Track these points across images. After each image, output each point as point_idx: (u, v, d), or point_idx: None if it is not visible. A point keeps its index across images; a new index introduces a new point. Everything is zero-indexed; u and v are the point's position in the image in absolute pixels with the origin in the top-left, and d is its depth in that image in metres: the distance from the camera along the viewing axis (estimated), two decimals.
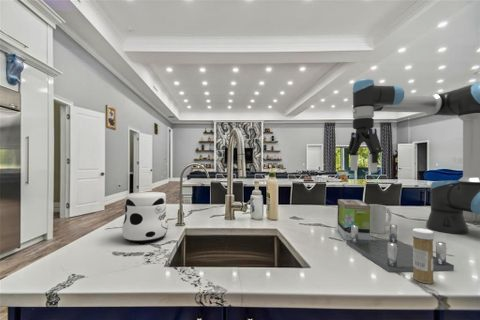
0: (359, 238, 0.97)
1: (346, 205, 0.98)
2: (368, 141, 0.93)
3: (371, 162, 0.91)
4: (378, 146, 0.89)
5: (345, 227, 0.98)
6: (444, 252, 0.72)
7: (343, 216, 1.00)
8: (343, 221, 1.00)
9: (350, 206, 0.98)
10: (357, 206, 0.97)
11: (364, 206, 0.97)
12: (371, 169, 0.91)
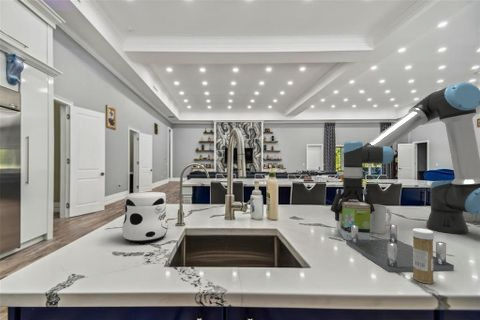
0: (359, 238, 0.97)
1: (346, 205, 0.98)
2: (341, 200, 1.05)
3: None
4: (333, 206, 1.03)
5: (345, 227, 0.98)
6: (444, 252, 0.72)
7: (343, 216, 1.00)
8: (343, 221, 1.00)
9: (350, 206, 0.98)
10: (357, 206, 0.97)
11: (364, 206, 0.97)
12: (337, 225, 1.05)
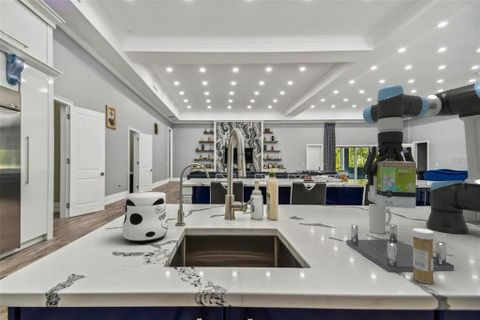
0: (402, 204, 0.76)
1: (384, 163, 0.78)
2: (375, 161, 0.84)
3: (370, 184, 0.84)
4: (366, 167, 0.83)
5: (383, 191, 0.77)
6: (444, 252, 0.72)
7: (380, 178, 0.79)
8: (380, 184, 0.79)
9: (390, 164, 0.77)
10: (399, 164, 0.77)
11: (408, 163, 0.76)
12: (370, 192, 0.84)
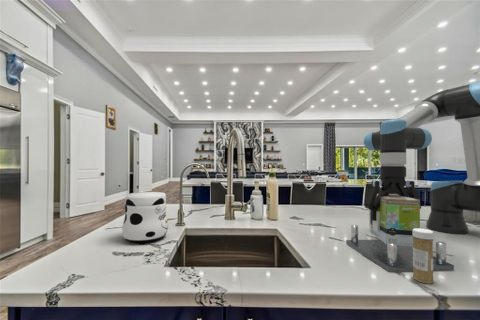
0: (406, 242, 0.75)
1: (388, 200, 0.76)
2: (378, 195, 0.83)
3: None
4: (368, 202, 0.82)
5: (387, 228, 0.76)
6: (444, 252, 0.72)
7: (383, 214, 0.78)
8: (383, 220, 0.78)
9: (393, 201, 0.76)
10: (403, 201, 0.75)
11: (412, 201, 0.75)
12: (373, 226, 0.83)
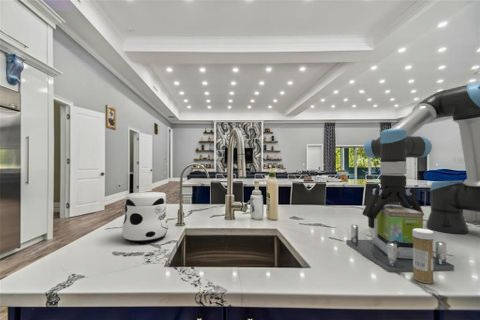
0: (409, 255, 0.75)
1: (391, 212, 0.76)
2: (377, 203, 0.83)
3: None
4: (367, 209, 0.82)
5: (390, 241, 0.76)
6: (444, 252, 0.72)
7: (386, 226, 0.78)
8: (387, 233, 0.78)
9: (397, 214, 0.76)
10: (406, 214, 0.76)
11: (415, 214, 0.75)
12: (371, 234, 0.83)
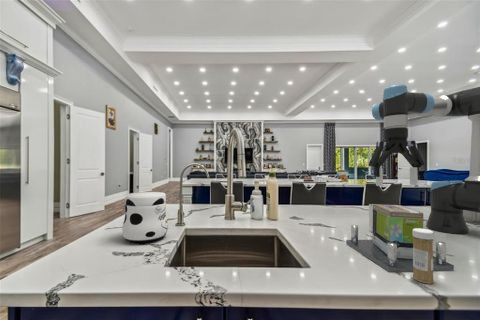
0: (409, 255, 0.75)
1: (392, 213, 0.76)
2: None
3: None
4: (372, 160, 0.89)
5: (391, 241, 0.76)
6: (444, 252, 0.72)
7: (387, 226, 0.78)
8: (387, 233, 0.78)
9: (397, 214, 0.76)
10: (406, 214, 0.76)
11: (415, 214, 0.75)
12: (376, 183, 0.90)
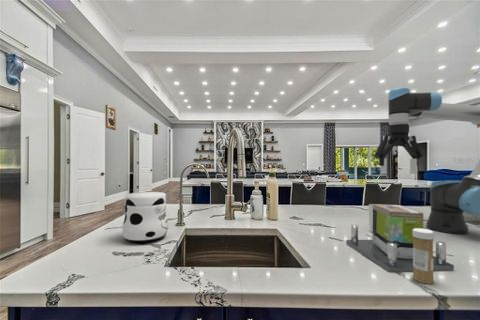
0: (409, 255, 0.75)
1: (392, 213, 0.76)
2: (386, 147, 1.05)
3: None
4: (378, 151, 1.04)
5: (391, 241, 0.76)
6: (444, 252, 0.72)
7: (387, 226, 0.78)
8: (387, 233, 0.78)
9: (397, 214, 0.76)
10: (406, 214, 0.76)
11: (415, 214, 0.75)
12: (381, 171, 1.05)
